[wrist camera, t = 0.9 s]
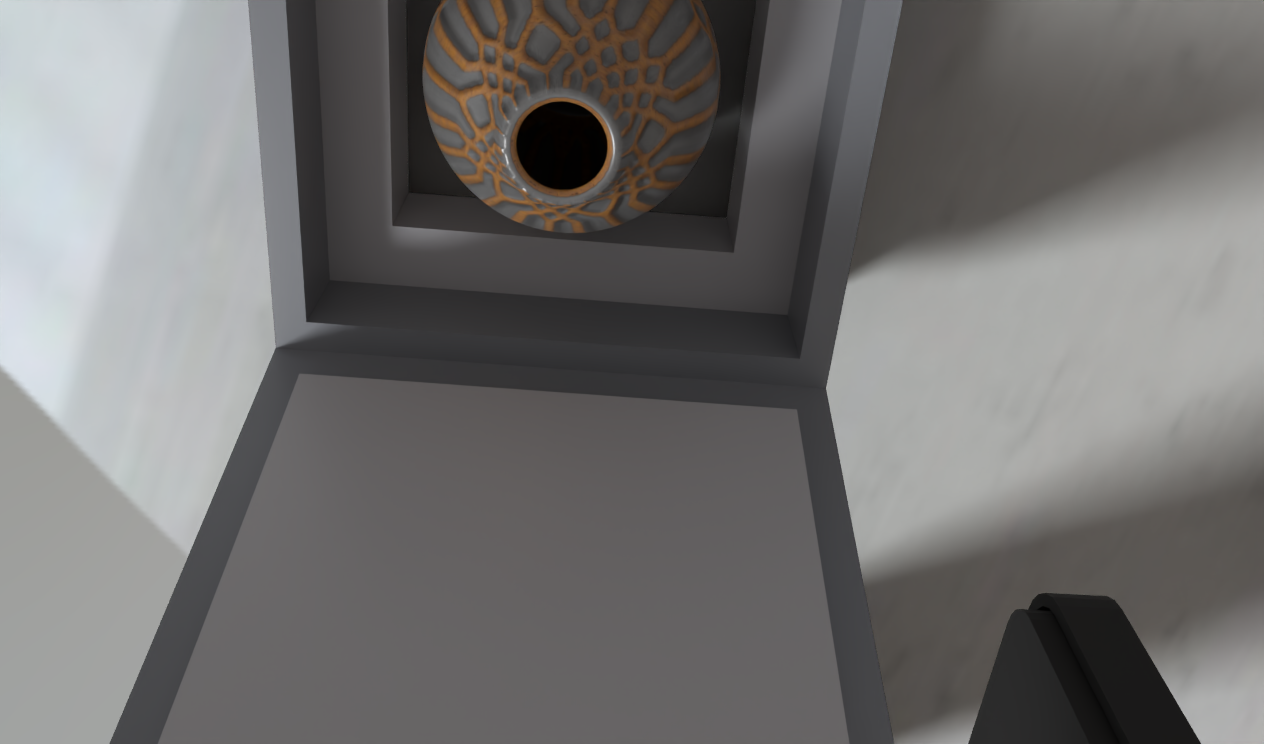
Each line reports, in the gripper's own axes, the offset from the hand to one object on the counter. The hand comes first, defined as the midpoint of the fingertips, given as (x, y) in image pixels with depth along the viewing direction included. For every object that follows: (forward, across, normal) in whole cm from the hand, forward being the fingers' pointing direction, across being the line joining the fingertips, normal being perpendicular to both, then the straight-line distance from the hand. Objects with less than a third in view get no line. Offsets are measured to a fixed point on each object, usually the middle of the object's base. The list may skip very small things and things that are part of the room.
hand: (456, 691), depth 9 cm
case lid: (+18, 0, +7) cm, 19 cm away
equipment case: (+23, 0, 0) cm, 23 cm away
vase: (+23, 0, 0) cm, 23 cm away
